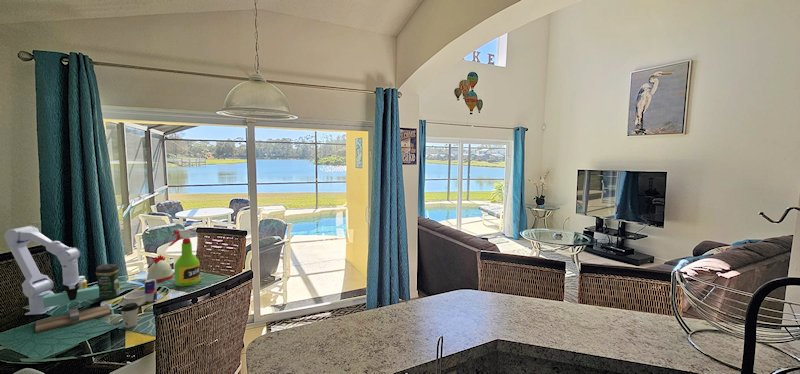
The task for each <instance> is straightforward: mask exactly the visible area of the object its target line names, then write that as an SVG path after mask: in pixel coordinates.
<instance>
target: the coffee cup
mask: <svg viewBox="0 0 800 374" xmlns="http://www.w3.org/2000/svg"><path fill="white" fill-rule="evenodd" d="M139 308H140V305H139V304H138V303H137V302H129V303H125V304H124V305H123V306H122V307H121V308H120V309H119V310H120V312H121V317H122V322H123V325H124V328H127V329H129V328H133V327H136V325H138V318H139V317H138V316H139Z"/></svg>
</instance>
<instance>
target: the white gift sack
mask: <svg viewBox="0 0 800 374" xmlns="http://www.w3.org/2000/svg"><path fill="white" fill-rule="evenodd" d="M147 271H148V273H147V276H146V280H147V279H156V283H158V282H163V281H164V282H165V281H168V280H170V279H172V278H173V277H174V270H173V268H172V267H171V265H170V263H168V262H167V261H166V257H165V256H163V255H161V254H160V255H158V256H155V258H154V259H153V263H152V265H150V267H149V268H148V269H147Z"/></svg>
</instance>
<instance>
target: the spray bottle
mask: <svg viewBox="0 0 800 374" xmlns="http://www.w3.org/2000/svg"><path fill="white" fill-rule="evenodd" d="M191 234H194V232H193V231H191V230H189V229H176V230H173V235H176V238H174V239H173V241H172V242H170V244H169V245H168V247H171V246H174V244H175V243H177V242H178V241H180V240H181V239H182V243H181V255H180V256H179V257H178V259H176V261H175V262H174V265H173V268H174V269H173V271H174V285H175V286H177V287H190V286H193V285H196V284H198V283H200V282H201V266H200V265H201V264H200V260H199V258H198V257H196V256H195V255H194V254H193V246H192V241H191Z"/></svg>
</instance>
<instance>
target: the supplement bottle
mask: <svg viewBox="0 0 800 374" xmlns="http://www.w3.org/2000/svg"><path fill="white" fill-rule="evenodd" d="M79 279H82V281H79V284H78V286H80V287H79V289H78V290H80V289H85V288H88V280H87V279H86V276H85V275H79Z"/></svg>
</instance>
